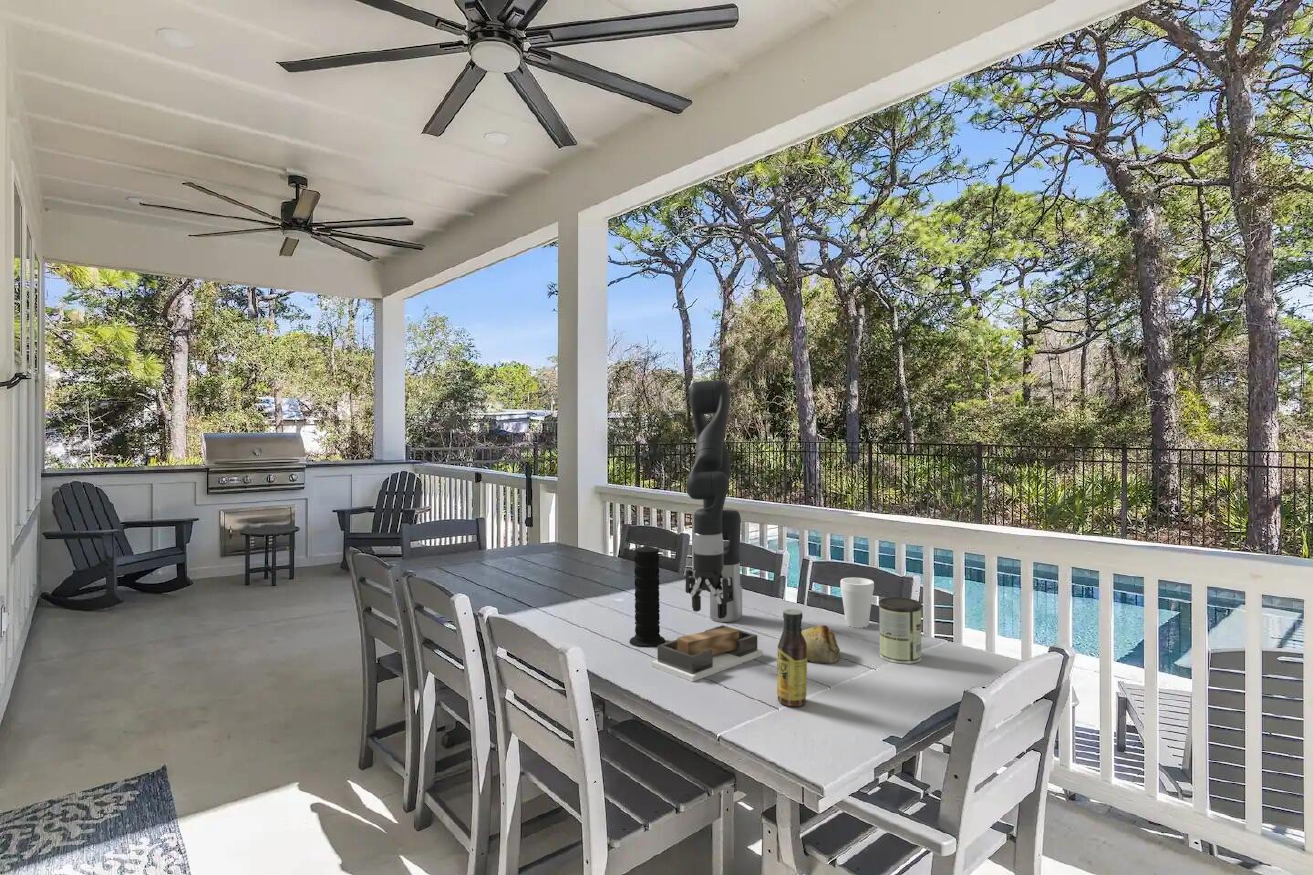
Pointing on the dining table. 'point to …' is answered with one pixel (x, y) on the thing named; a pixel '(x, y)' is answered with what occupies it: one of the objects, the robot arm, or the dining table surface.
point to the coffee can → (900, 630)
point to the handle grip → (647, 598)
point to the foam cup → (857, 600)
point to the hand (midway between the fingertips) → (709, 614)
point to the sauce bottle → (792, 661)
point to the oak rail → (709, 641)
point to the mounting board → (719, 664)
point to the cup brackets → (702, 653)
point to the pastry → (821, 644)
